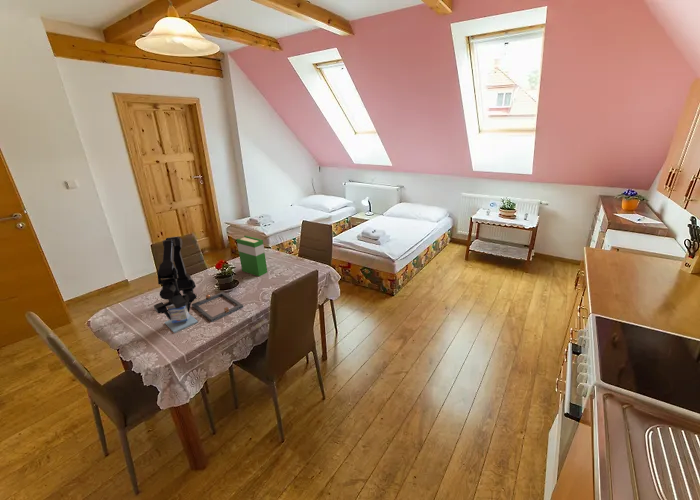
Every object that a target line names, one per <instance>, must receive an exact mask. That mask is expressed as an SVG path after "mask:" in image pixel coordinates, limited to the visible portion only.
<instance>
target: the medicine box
mask: <svg viewBox="0 0 700 500" xmlns="http://www.w3.org/2000/svg"><path fill="white" fill-rule="evenodd" d="M167 310H168V313H169V315H170V317H171V323H178V322H183V321H188V319H189V314H190V312H188V309H187V305H185V306H183V307H180V308H178V309H176V308H175V306H174V305H171V306H168V308H167Z"/></svg>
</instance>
